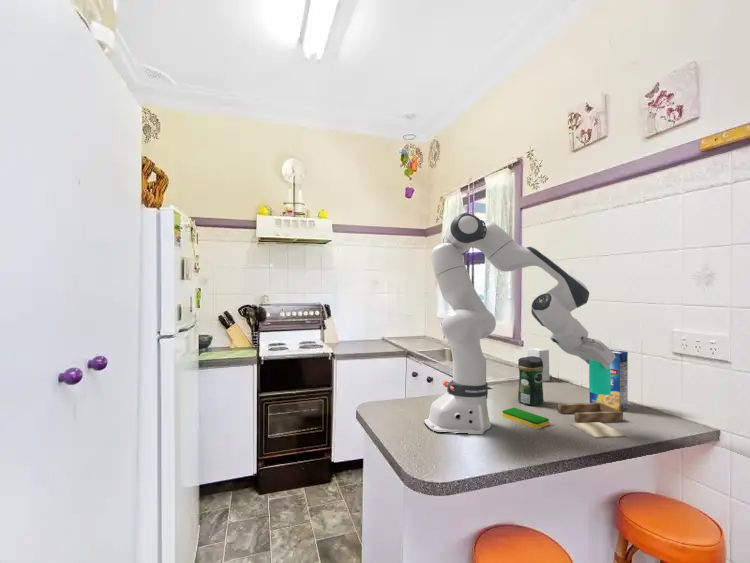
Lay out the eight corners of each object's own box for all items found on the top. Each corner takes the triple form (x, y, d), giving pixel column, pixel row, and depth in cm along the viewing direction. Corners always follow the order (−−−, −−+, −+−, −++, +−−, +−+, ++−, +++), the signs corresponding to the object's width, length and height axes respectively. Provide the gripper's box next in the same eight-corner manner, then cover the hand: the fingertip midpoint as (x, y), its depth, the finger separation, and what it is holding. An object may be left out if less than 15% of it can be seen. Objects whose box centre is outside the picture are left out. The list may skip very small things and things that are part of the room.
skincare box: (549, 381, 181) (550, 350, 181) (539, 382, 179) (539, 350, 179) (537, 377, 189) (537, 347, 189) (527, 378, 187) (527, 347, 187)
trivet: (594, 437, 113) (594, 436, 113) (570, 424, 123) (570, 423, 123) (626, 436, 114) (626, 435, 114) (599, 423, 125) (599, 422, 125)
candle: (614, 395, 115) (613, 357, 116) (593, 394, 116) (593, 356, 117) (605, 391, 121) (605, 354, 122) (586, 389, 122) (586, 353, 123)
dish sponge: (514, 413, 135) (514, 407, 135) (549, 425, 123) (549, 418, 123) (501, 417, 131) (501, 410, 131) (537, 430, 119) (537, 422, 119)
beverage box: (619, 411, 137) (620, 353, 138) (589, 403, 146) (589, 349, 147) (627, 408, 141) (627, 351, 141) (597, 400, 150) (597, 347, 151)
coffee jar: (529, 398, 153) (529, 354, 153) (546, 403, 146) (547, 357, 146) (514, 401, 148) (514, 356, 148) (531, 407, 141) (531, 359, 141)
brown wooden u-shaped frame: (577, 422, 125) (577, 414, 125) (557, 412, 136) (557, 404, 136) (622, 420, 128) (622, 412, 128) (599, 410, 138) (600, 402, 138)
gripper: (602, 332, 108) (631, 365, 109) (558, 325, 128) (583, 352, 129) (589, 347, 107) (618, 380, 109) (546, 338, 128) (572, 365, 129)
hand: (599, 365), depth 119 cm, fingers closed on candle, 6 cm apart
